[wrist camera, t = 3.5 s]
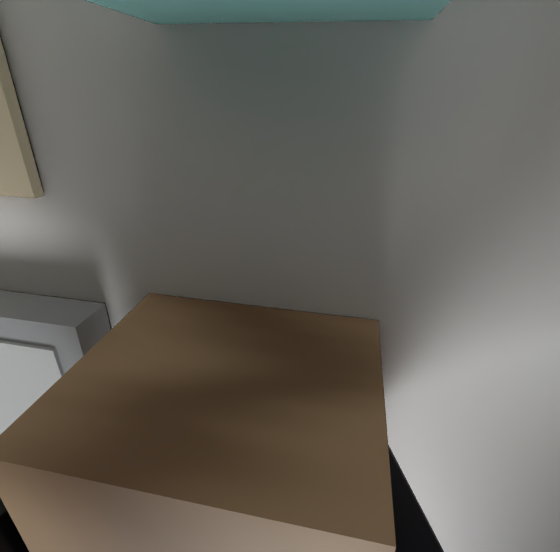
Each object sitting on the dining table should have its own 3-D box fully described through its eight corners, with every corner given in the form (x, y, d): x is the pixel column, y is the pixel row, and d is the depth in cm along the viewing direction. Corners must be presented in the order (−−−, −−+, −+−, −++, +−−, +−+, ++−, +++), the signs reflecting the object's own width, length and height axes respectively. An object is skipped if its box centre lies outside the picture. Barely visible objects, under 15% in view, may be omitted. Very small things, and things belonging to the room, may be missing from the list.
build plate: (104, 303, 10) (72, 329, 9) (147, 483, 14) (127, 518, 13) (-123, 274, 12) (-175, 294, 10) (-30, 445, 15) (-62, 474, 14)
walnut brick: (378, 320, 9) (395, 546, 4) (352, 479, 11) (347, 717, 7) (149, 293, 10) (-23, 456, 5) (175, 445, 12) (74, 636, 8)
